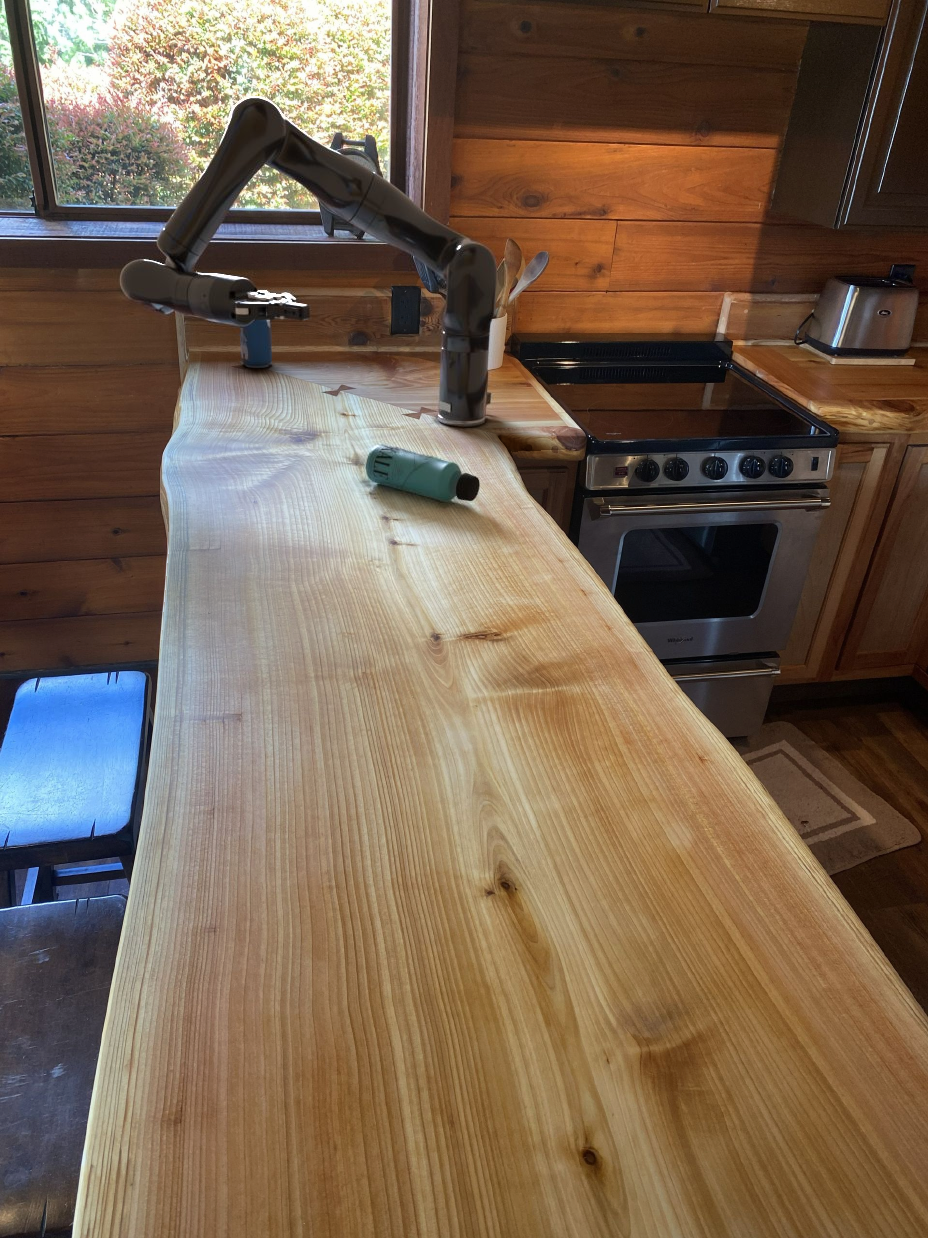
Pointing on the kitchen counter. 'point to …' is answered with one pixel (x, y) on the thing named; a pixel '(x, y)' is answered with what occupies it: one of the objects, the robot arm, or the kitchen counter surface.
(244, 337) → the soda can
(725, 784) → the kitchen counter surface
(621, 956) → the kitchen counter surface
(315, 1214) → the kitchen counter surface
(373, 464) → the beverage bottle
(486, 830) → the kitchen counter surface
